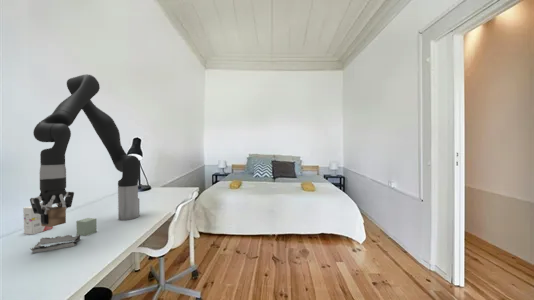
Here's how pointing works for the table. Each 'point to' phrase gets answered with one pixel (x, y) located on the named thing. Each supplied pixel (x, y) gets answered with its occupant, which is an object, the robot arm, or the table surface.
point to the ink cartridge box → (33, 221)
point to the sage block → (86, 226)
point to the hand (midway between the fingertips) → (53, 221)
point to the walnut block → (56, 216)
